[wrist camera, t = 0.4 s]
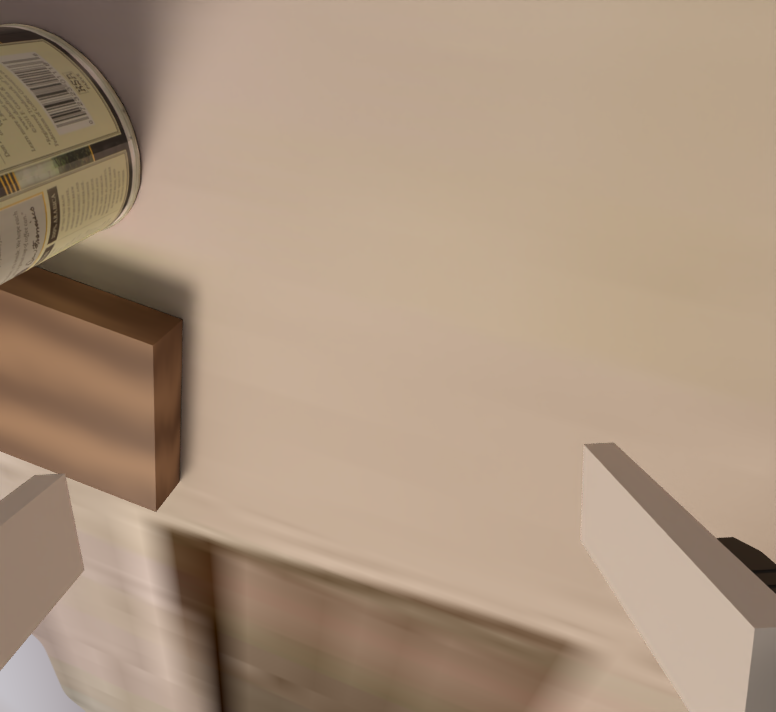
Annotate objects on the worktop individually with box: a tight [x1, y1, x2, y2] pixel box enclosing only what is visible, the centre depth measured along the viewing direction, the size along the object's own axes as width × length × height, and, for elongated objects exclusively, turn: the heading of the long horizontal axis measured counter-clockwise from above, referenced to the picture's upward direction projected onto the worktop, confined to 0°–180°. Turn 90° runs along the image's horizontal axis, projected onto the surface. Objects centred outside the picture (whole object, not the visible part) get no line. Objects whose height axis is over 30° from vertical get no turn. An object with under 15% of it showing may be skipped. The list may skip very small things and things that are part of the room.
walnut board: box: [0, 266, 183, 512], centre depth 37 cm, size 15×15×3 cm
